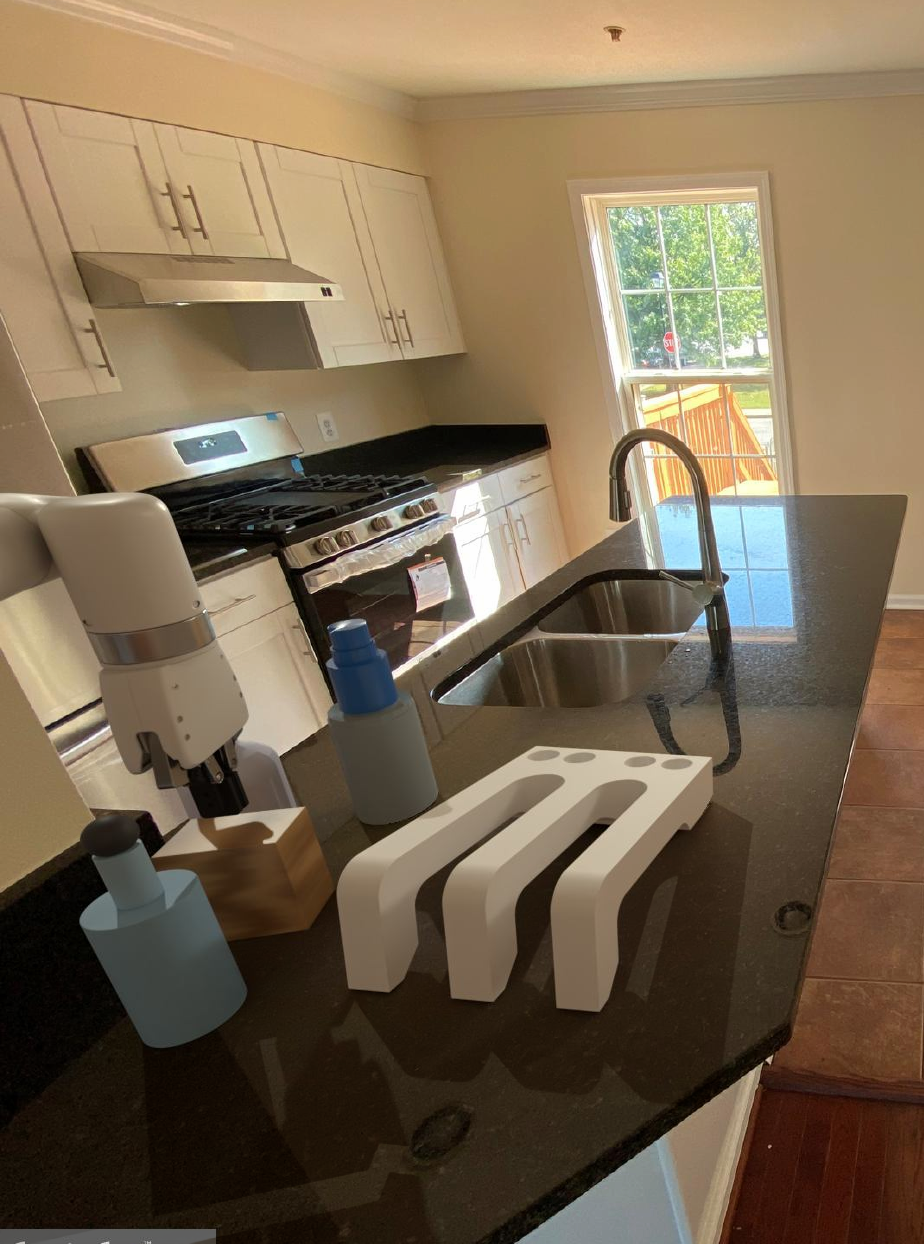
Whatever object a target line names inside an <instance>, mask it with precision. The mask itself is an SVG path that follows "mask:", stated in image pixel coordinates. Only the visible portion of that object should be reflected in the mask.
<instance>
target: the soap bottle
mask: <svg viewBox="0 0 924 1244" xmlns="http://www.w3.org/2000/svg"><path fill="white" fill-rule="evenodd" d="M235 743H236V744H235V747H234V748H235V752H236V756H237V760H238V767H237V768H236V769H235V770H232V771H237V772H238V775H239V778H240V780H241V783H242V785H243V788H244V790H245V793H246V795H247V798H248V801H249V804H248V805H247V806H246V807H245V808H243V810H242V812H241V813H240V814H243V813H252V812H261V811H270V810H278V809H287V808H296V807H298V806H297V804H296V800H295V798H294V795H293V792H292V789H291V787H290V786H291V785H290V784H289V780H288V778H287V775H286V772H285V768H284V766H283V763H282V761H281V758H280V755H279V754H278V752H277V751H276V750H275V749H274V748H273V747H272V746H270V745H268V744H265V743H262V742H257V741H253V740H241V739H239V738H237V740H236V741H235ZM175 789H176V791H177V794H178V796H179V799H180V801H181V804H182V805H183V808H184V810H185V812H186V815H187V818H188V819H189V821H190V820H191V819H199V818H202V817H201V816H200V814H199V811H198V809H197V807H196V804H195V802H194V800H193V797H192V795H191V792H190V790H189V788H188V787H183V786H181V787H179V788H175Z"/></svg>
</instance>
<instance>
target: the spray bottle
mask: <svg viewBox="0 0 924 1244" xmlns="http://www.w3.org/2000/svg"><path fill="white" fill-rule="evenodd" d="M326 629H327V632H328V636H329V639H330V644H331V646H330V647H329V651H330V654H331V658H329V659H328V660H327V661H326V662H325V666H326V670H327V673H328V676H329V679H330V682H331V685H332V688H333V692H334V695H335V699H336V703H334V704H333V705H332V706H330V707H329V709H328V710H327V712H326V715H327V719H326V720H327V721H326V722H327V725H328V729H329V731H330V735H331V738H332V741H333V744H334V747H335V750H336V751H335V752H336V754H337V756H338V760H339V763H340V765H341V766H340V767H341V769H342V773H343V776H344V778H345V781H346V785H347V788H348V791H349V794H350V797H351V800H352V803H353V807H354V810H355V813H356V816H357V819H358V820H359V821H361V822H362V823H363V824H367V825H371V826H385V825H390V824H389V823H391V824H396V823H395V822H397V823H400V822H403V821H405V820H404V819H406V820H408V819H407V818H409V817H412V816H414V815H416V814H418V813H419V812H422V811H423V810H425V809H426V808H427V807H429V806H430V805H431V804H432V803H433V802H434V800H436V798H437V795H438V792H439V789H438V788H439V787H438V785H437V781H436V777H435V774H434V770H433V766H432V762H431V758H430V755H429V751H428V748H427V747H428V746H427V743H426V739H425V736H424V731H423V727H422V724H421V720H420V717H419V713H418V709H417V706H416V705H417V704H416V702H415V699H414V698H413V697H412V695H411V692H409V691H407V690H405V689H400V688H397V687H396V683H395V679H394V676H393V671H392V668H391V665H390V661H389V657H388V654H387V651H386V650H384V649H383V648H382V649H381V648H378V646H377V644H376V640H375V638H373V637H371V633H370V631H369V626H368V622H367V620H366V619H364V618H353V619H346V620H339V621H336V622H333V623H331V624H329V625H328V626H327V628H326ZM437 799H438V798H437ZM436 801H437V800H436ZM429 808H430V807H429ZM425 811H426V810H425ZM422 813H423V812H422ZM418 815H419V814H418ZM416 816H417V815H416ZM414 817H415V816H414ZM412 818H413V817H412ZM402 820H403V821H402ZM399 821H400V822H399Z"/></svg>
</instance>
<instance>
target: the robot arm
mask: <svg viewBox="0 0 924 1244" xmlns="http://www.w3.org/2000/svg"><path fill="white" fill-rule="evenodd" d="M60 578H61V580H62V582H63V585H64V587H65V589H66V592H67V594H68V596H69V599H70V601H71V603H72V605H73V607H74V610H75V611H76V613H77V616H78V618H79V620H80V623H81V625H82V628H83V630H84V632H85V635H86V636H87V638H88V640H89V643H90V646H91V647H92V650H93V652H94V654H95V656H96V658H97V660H98V663H99V665H100V667H101V668H102V669H101V670H100V671H98V681H99V689H100V695H101V700H102V704H103V707H104V711H105V712H104V713H105V716H106V719H107V722H108V725H109V729H110V731H111V735H112V736H113V740H114V742H115V745H116V747H117V750H118V753H119V756H120V758H121V760H122V762H123V764H124V767H125V768H126V770H127V771H128V772H129V773H130V774H131V775H133V776H134V775H135V776H136V775H142V774H145V773H146V772H149V771H150V770H151V769H152V772H153V775H154V781H155V785H156V788H157V790H159V791H161V790H171V789H176V788H179V787H181V786H183V787H188V788H189V790H190V792H191V795H192V797H193V800H194V802H195V804H196V807H197V809H198V811H199V814H200V816H201V817H202V818H205V819H208V818H216V817H225V816H233V815H238V814H240V813H241V812H242V810H243V808H245V807H246V806H247V805H248V804H249V801H248V798H247V795H246V793H245V790H244V788H243V785H242V783H241V780H240V778H239V775H238V772H237V771H232V770H235V769H236V768H237V767H238V760H237V756H236V752H235V748H234V747H235V744H236V743H235V741H236V740H237V739H239V737H240V736H241V734H242V733H243V730H244V726H246V724H247V722H248V720H249V718H250V715H249V710H248V706H247V703H246V699H245V697H244V693H243V691H242V688H241V686H240V683H239V681H238V679H237V677H236V674H235V672H234V670H233V668H232V666H231V663H230V662H229V660H228V659H227V656H226V654H225V652H224V651H223V648H222V647H221V645H220V643H219V640H218V638H217V635H216V632H215V630H214V627H213V625H212V622H211V619H210V616H209V613H208V611H207V608H206V606H205V603H204V600H203V598H202V595H201V592H200V589H199V587H198V584H197V581H196V579H195V575H194V573H193V570H192V568H191V565H190V562H189V559H188V557H187V554H186V552H185V549H184V546H183V544H182V541H181V538H180V536H179V533H178V530H177V528H176V524H175V522H174V519H173V517H172V514H171V512H170V510H169V508H168V507H167V505H166V504H165V503H164V502H163V501H162V500H161V499H159V498H158V497H157V496H154V495H152V494H148V493H143V492H136V491H135V492H134V491H120V492H101V493H91V494H83V495H76V496H66V495H65V496H64V495H63V496H62V495H47V494H36V493H21V492H0V602H3V601H5V600H7V599H9V598H11V597H13V596H16V595H19V594H20V593H22V592H25V591H27V590H31V589H33V588H36V587H39V586H42V585H44V584H46V583H50V582H52V581H55V580H57V579H60Z"/></svg>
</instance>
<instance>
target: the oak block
mask: <svg viewBox="0 0 924 1244" xmlns="http://www.w3.org/2000/svg"><path fill="white" fill-rule="evenodd" d="M150 860H151V862H152V864H153V866H154V868H155V871H156V872H160V871H166V870H175V869H182V870H189V871H192V872H194V873H195V874H196V875H197V876H198V878H199V880H200V883H201V885H202V887H203V889H204V892H205V894H206V896H207V898H208V901H209V903H210V905H211V908H212V910H213V912H214V914H215V917H216V919H217V921H218V923H219V926H220V928H221V930H222V932H223V935H224V937H225V939H226V941H227V943H228V942H233V941H234V942H235V941H241V940H246V939H247V940H248V939H254V938H261V937H268V936H275V935H281V934H288V933H296V932H301V931H309V929H310V928H311V927H312V925H313V924H314V922H315V921H316V919H317V918H318V916H319V914H320V913H321V911H322V910H323V909H324V907H325V906H326V904H327V902H328V901H329V899H330V897H331V896H332V895H333V894H334V891H335V890H336V888H335V885H334V881H333V879H332V876H331V873H330V871H329V867H328V865H327V862H326V860H325V856H324V853H323V851H322V848H321V845H320V842H319V839H318V836H317V834H316V831H315V828H314V825H313V823H312V819H311V816H310V814H309V811H308V808H307V806H297V807H296V808H287V809H278V810H270V811H261V812H252V813H243V814H238V815H233V816H225V817H216V818H208V819H205V818H199V819H191V820H189V821H188V822H186V824H185V825H183V827H182V828H180V829H179V830H178V831H177V832H176V833H175V834H174V835H173V836H172V837H171V838H170V839H169V840H168V841H167V842H165V844H164V845H163V846H161V848H160V849H158V851H156V853H154V854H153V855H152V856H151V857H150Z"/></svg>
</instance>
